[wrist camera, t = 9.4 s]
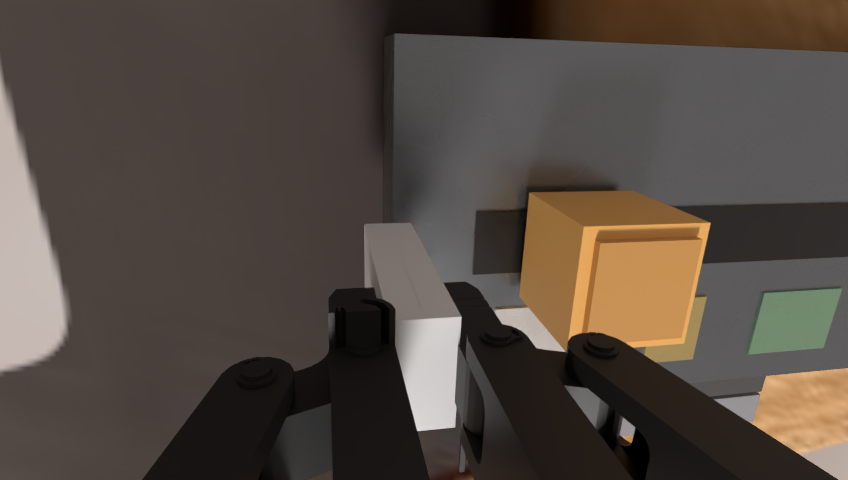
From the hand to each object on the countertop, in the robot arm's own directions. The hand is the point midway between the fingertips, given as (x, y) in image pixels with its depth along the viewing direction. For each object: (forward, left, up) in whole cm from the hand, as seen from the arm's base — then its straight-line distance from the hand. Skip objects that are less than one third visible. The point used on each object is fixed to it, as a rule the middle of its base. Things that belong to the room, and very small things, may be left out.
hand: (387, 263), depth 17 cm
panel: (+12, 0, -5) cm, 13 cm away
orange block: (+7, 0, -1) cm, 7 cm away
